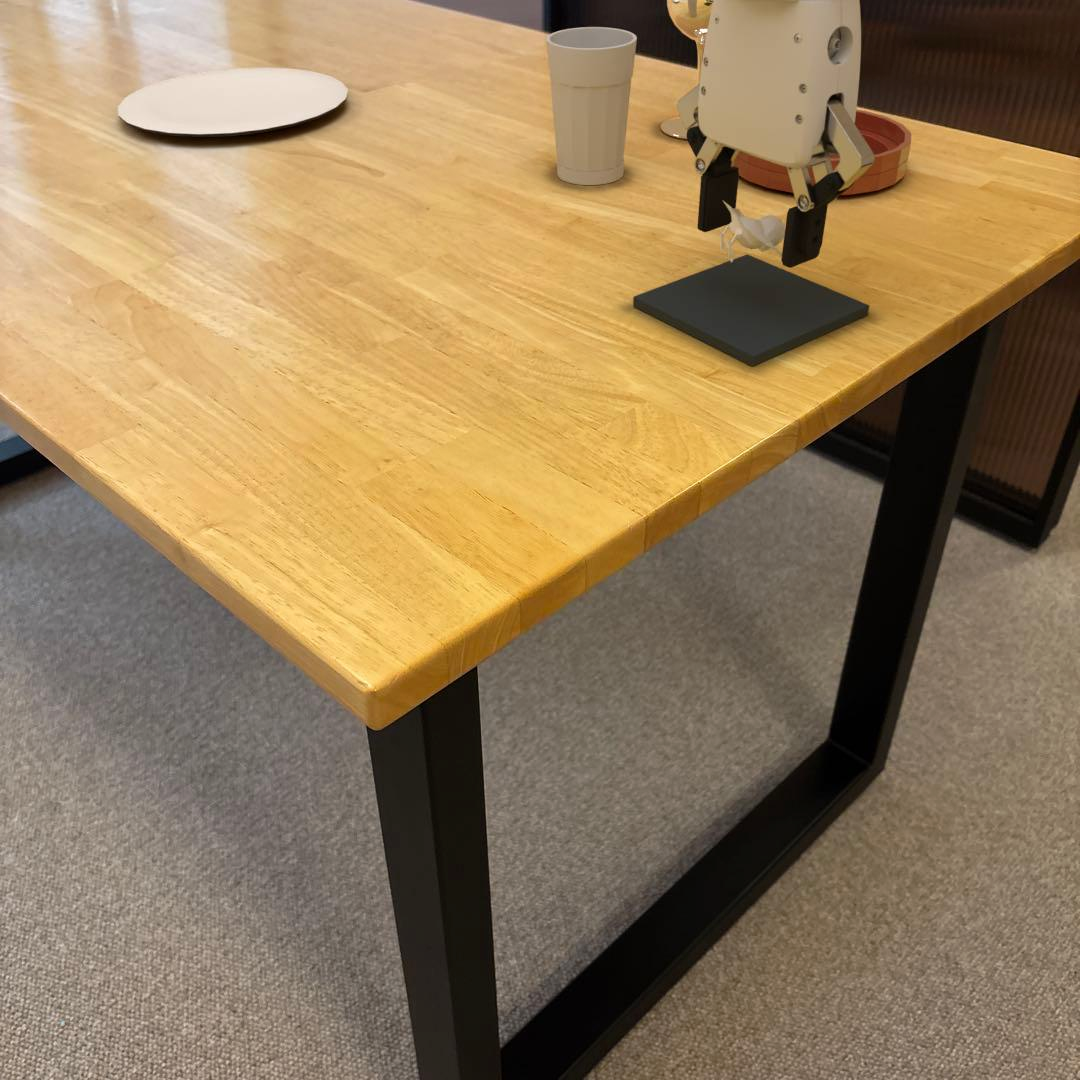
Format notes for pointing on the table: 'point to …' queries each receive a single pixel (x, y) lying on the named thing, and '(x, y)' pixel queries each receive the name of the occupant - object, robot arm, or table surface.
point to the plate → (232, 102)
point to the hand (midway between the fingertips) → (756, 242)
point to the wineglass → (691, 17)
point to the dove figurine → (753, 232)
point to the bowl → (878, 132)
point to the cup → (590, 101)
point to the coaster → (750, 308)
